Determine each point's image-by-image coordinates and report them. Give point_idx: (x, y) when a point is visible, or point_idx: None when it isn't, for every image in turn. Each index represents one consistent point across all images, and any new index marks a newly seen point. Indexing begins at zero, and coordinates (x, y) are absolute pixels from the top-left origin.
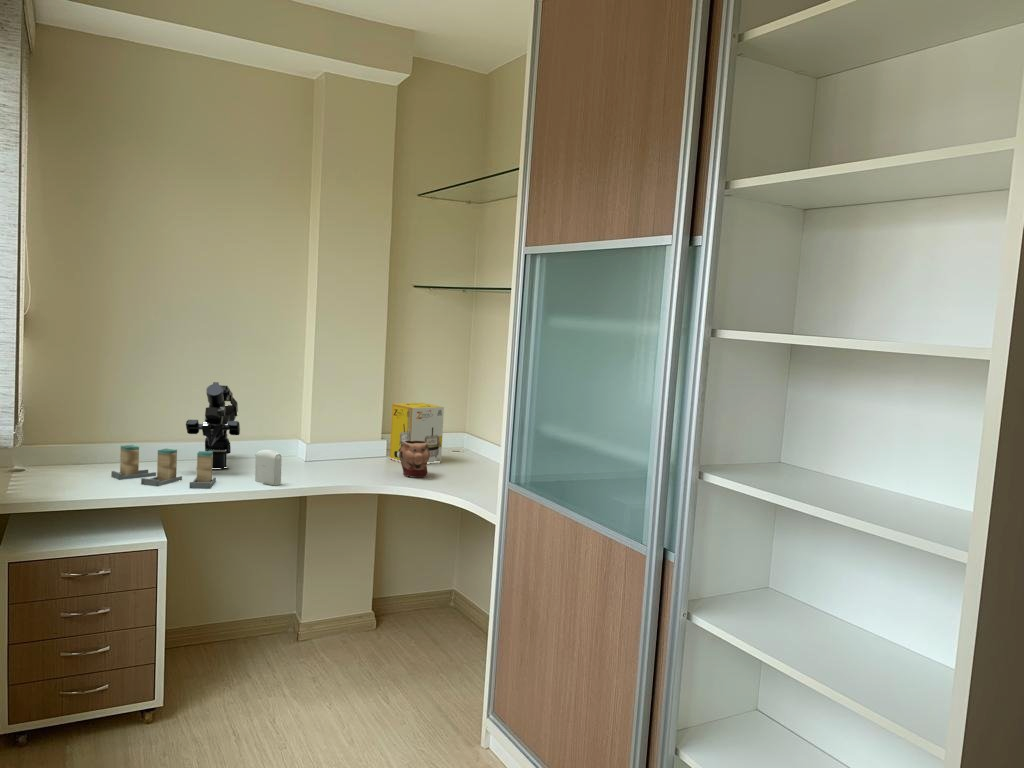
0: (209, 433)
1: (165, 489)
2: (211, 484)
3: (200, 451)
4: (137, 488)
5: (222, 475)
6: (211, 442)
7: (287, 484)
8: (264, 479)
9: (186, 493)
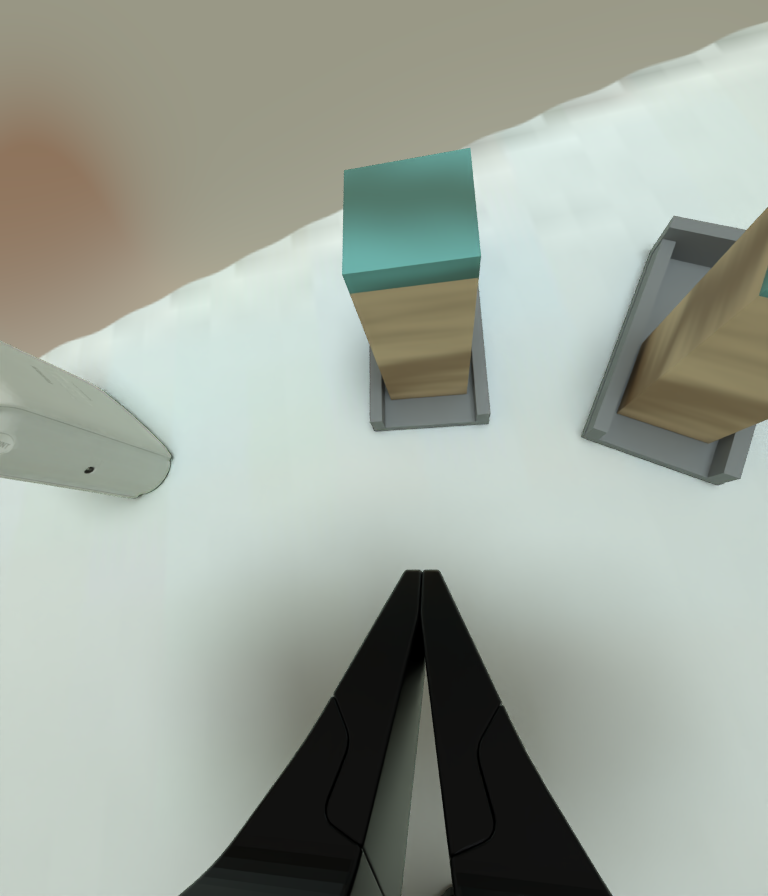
0: (469, 803)
1: (594, 225)
2: None
3: (464, 237)
4: (759, 215)
5: None
6: (403, 592)
7: None
8: (114, 404)
9: None
